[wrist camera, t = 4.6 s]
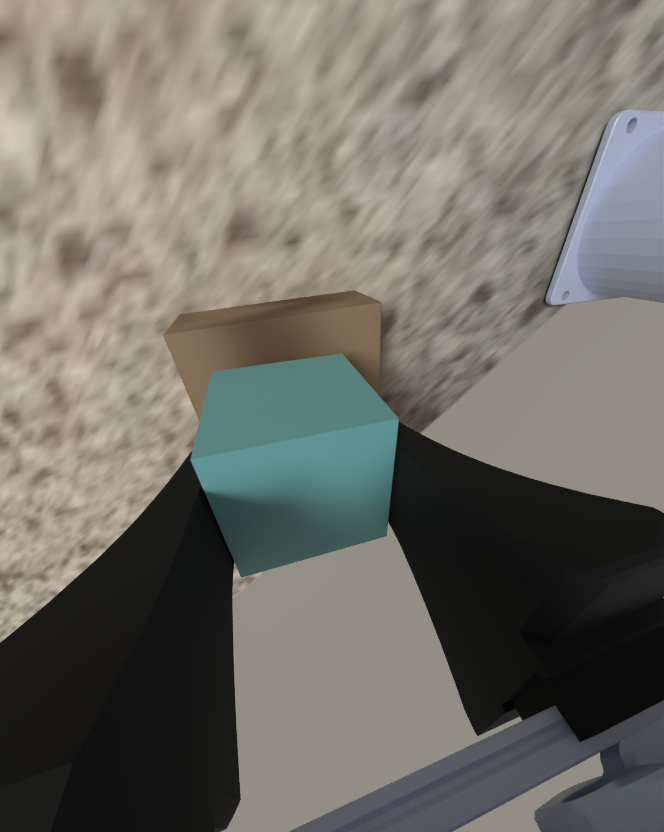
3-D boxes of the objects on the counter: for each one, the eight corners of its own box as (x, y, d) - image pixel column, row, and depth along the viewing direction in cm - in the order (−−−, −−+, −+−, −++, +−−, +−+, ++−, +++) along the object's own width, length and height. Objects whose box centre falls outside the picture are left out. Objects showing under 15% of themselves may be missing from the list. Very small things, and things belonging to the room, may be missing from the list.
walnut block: (352, 289, 14) (380, 302, 11) (357, 421, 18) (378, 455, 15) (181, 312, 12) (163, 335, 9) (232, 449, 17) (229, 492, 14)
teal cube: (341, 353, 10) (398, 418, 6) (344, 449, 12) (386, 535, 9) (211, 371, 9) (190, 460, 5) (241, 470, 12) (241, 577, 8)
